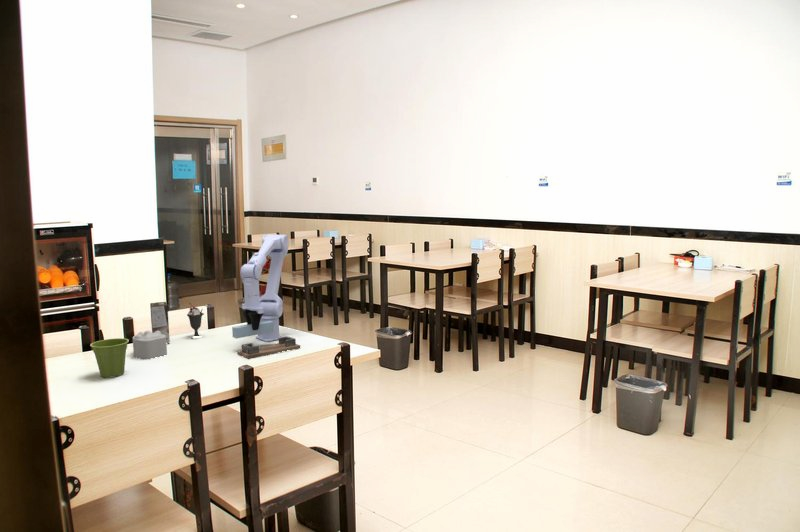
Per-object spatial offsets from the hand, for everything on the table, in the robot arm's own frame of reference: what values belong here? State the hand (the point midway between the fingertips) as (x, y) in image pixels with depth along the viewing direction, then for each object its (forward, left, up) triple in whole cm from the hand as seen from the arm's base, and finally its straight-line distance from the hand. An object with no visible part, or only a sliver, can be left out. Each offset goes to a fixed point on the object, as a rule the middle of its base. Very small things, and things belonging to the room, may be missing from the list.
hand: (253, 329), depth 237 cm
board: (+9, +2, -8) cm, 12 cm away
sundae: (-33, -10, -8) cm, 35 cm away
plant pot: (-1, -52, -8) cm, 53 cm away
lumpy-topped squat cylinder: (-19, -34, -8) cm, 40 cm away
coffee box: (-35, -24, -8) cm, 43 cm away
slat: (0, 0, -2) cm, 2 cm away
